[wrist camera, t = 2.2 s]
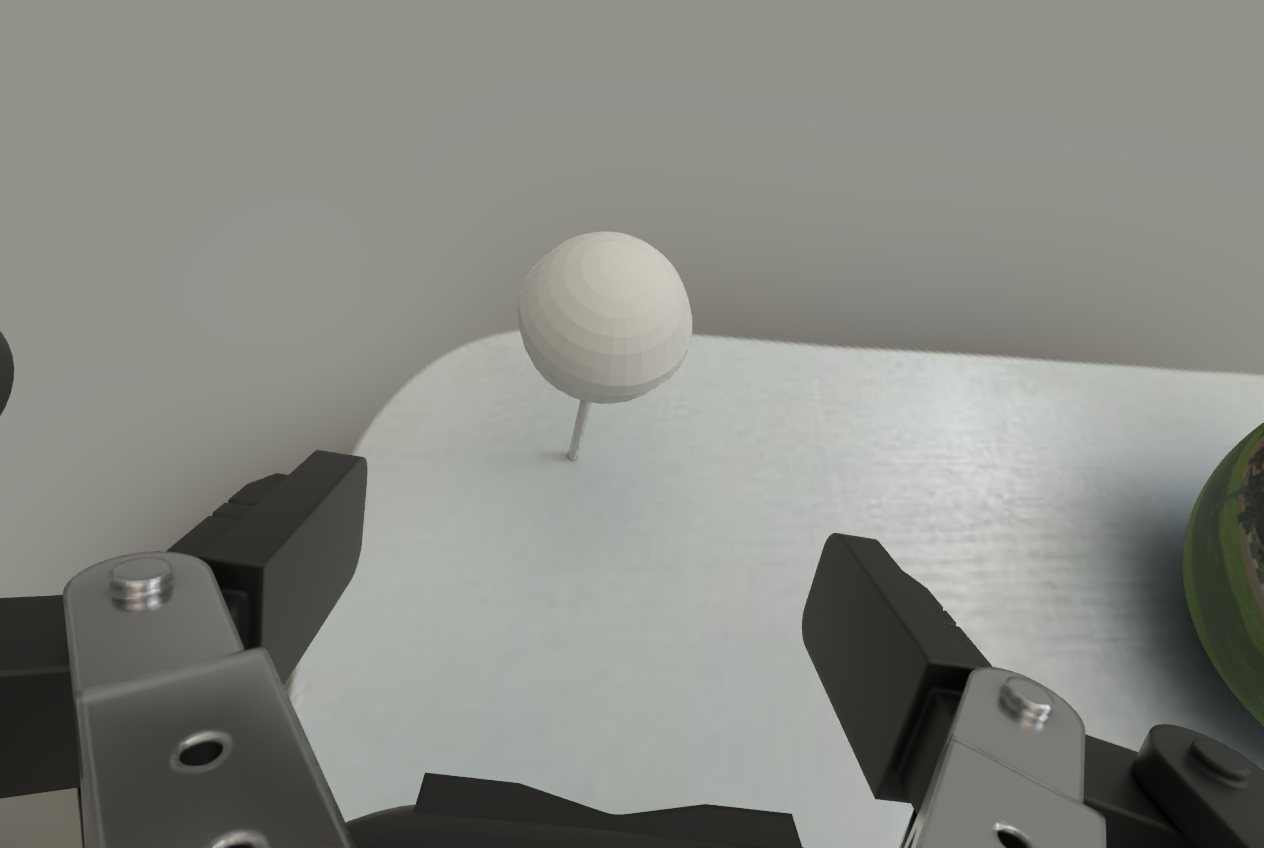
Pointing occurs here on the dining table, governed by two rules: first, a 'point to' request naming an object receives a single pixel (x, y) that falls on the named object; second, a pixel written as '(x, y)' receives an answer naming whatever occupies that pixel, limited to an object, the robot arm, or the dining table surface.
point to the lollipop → (604, 320)
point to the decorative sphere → (1231, 570)
